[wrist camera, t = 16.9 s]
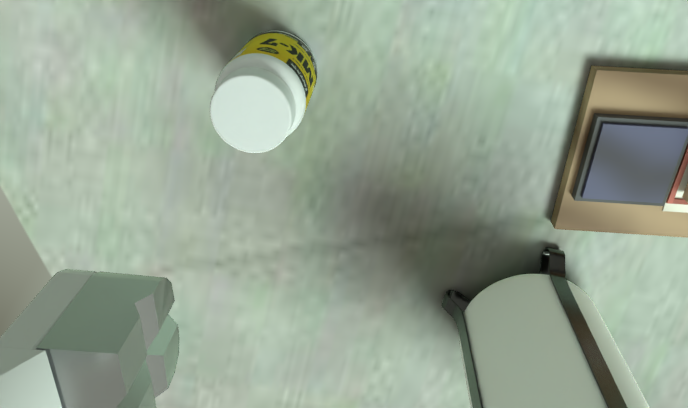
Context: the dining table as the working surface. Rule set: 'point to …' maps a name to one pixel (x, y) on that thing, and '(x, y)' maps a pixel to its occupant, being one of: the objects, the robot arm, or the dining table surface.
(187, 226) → the dining table surface
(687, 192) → the stamp
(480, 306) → the coffee press
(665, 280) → the dining table surface
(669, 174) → the station board
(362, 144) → the dining table surface
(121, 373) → the robot arm
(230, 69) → the supplement bottle
